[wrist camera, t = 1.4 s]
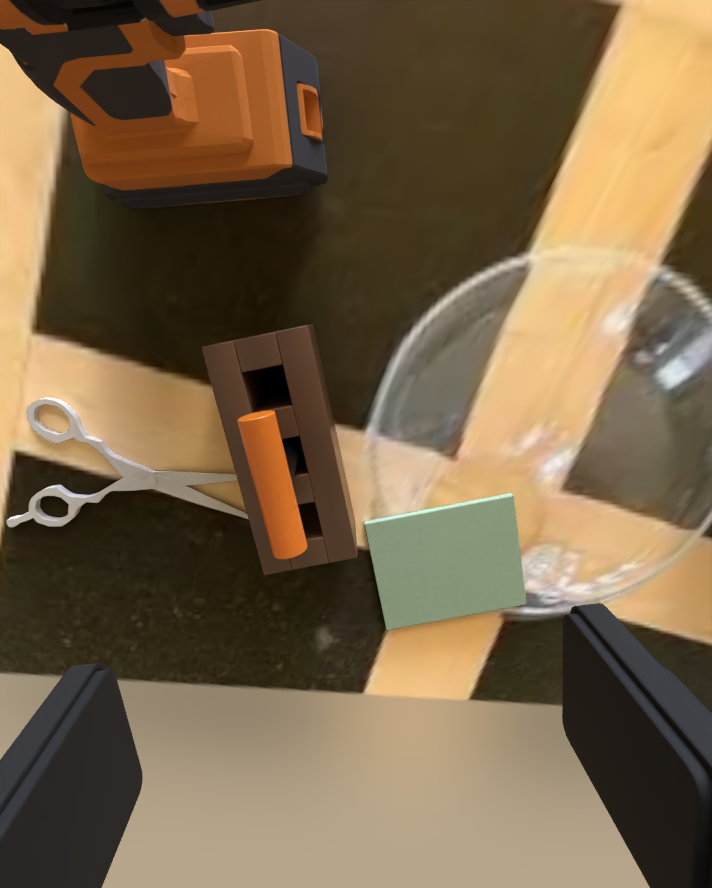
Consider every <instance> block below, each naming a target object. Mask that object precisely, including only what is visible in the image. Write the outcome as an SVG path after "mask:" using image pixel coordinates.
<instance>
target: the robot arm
mask: <svg viewBox="0 0 712 888" xmlns="http://www.w3.org/2000/svg"><path fill="white" fill-rule="evenodd" d="M562 718H563V725H564V730H565V733H566V736H567V738H568V740H569V742H570V744H571V746H572V748H573V749H574V751H575V753H576V755H577V756H578V758H579V760H580V762H581V764H582V766H583V767H584V769H585V771H586V773H587V775H588V776H589V778H590V780H591V782H592V784H593V785H594V787H595V789H596V791H597V792H598V794H599V796H600V798H601V800H602V802H603V803H604V805H605V807H606V809H607V811H608V813H609V814H610V816H611V818H612V820H613V822H614V823H615V825H616V827H617V829H618V831H619V832H620V834H621V836H622V838H623V840H624V841H625V843H626V845H627V847H628V849H629V850H630V852H631V854H632V856H633V858H634V859H635V861H636V863H637V865H638V867H639V868H640V870H641V872H642V874H643V876H644V878H645V879H646V881H647V883H648V885H649V887H650V888H712V714H711V713H710V712H709V711H708V709H707V708H706V707H705V706H704V705H703V704H702V703H701V702H700V701H699V700H698V699H697V698H696V697H695V696H694V695H693V694H692V693H691V692H690V691H689V689H688V688H687V687H686V686H685V685H684V684H683V683H682V682H681V681H680V680H679V679H678V678H677V677H676V676H675V675H674V674H673V673H672V672H671V671H670V670H668V669H667V668H664V667H662V666H661V665H660V664H659V663H658V662H657V661H656V660H655V659H654V658H653V657H652V655H651V654H650V653H649V652H648V651H647V650H646V649H645V648H644V647H643V646H642V645H641V644H640V643H639V642H638V641H637V639H636V638H635V637H634V636H633V635H632V634H631V633H630V632H629V631H628V630H627V629H626V628H625V627H624V626H623V624H622V623H621V622H620V621H619V620H618V619H617V618H616V617H615V616H614V615H613V614H612V613H611V612H610V611H609V610H608V608H607V607H606V606H604V605H603V604H600V603H598V604H589V605H581V606H574V607H572V609H571V613H570V614H568V615H565V616H564V619H563V715H562ZM141 786H142V770H141V766H140V762H139V758H138V755H137V751H136V747H135V744H134V740H133V737H132V733H131V729H130V726H129V722H128V719H127V715H126V711H125V708H124V704H123V700H122V697H121V693H120V689H119V686H118V682H117V678H116V675H115V672H114V671H113V670H112V669H107V667H106V666H105V665H104V664H103V663H93V664H85V665H77V666H72V667H70V668H69V669H68V670H67V671H66V673H65V674H64V675H63V677H62V678H61V679H60V681H59V682H58V683H57V685H56V686H55V687H54V689H53V690H52V691H51V693H50V694H49V695H48V697H47V698H46V699H45V701H44V702H43V704H42V705H41V706H40V707H39V709H38V710H37V711H36V713H35V714H34V716H33V717H32V718H31V720H30V721H29V722H28V724H27V725H26V726H25V728H24V729H23V730H22V732H21V733H20V735H19V736H18V737H17V738H16V740H15V741H14V743H13V744H12V745H11V747H10V748H9V749H8V750H7V752H6V753H5V754H4V756H3V757H2V758H1V760H0V888H101V887H102V885H103V883H104V880H105V878H106V875H107V873H108V870H109V868H110V865H111V863H112V860H113V858H114V856H115V853H116V851H117V848H118V846H119V843H120V841H121V838H122V836H123V833H124V831H125V828H126V826H127V823H128V821H129V818H130V816H131V813H132V811H133V809H134V806H135V804H136V801H137V798H138V796H139V793H140V790H141Z"/></svg>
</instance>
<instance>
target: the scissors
mask: <svg viewBox="0 0 712 888" xmlns="http://www.w3.org/2000/svg"><path fill="white" fill-rule="evenodd" d="M43 404H49V405H53V406H58V407H59V408H60V409H61V410H62V411H63V412H64V413H65V414H66V415H67V417H68V418H69V420H70V429H69V430H68V432H64V433H61V432H57V431H54V430H52V429H49V428H47V427H46V426H45V425H44V424H42V423H41V422H40V420H39V419H38V412H39V408H40V407H41V406H42V405H43ZM26 412H27V420H28V422H29V424H30V425H31V427H32V429H33V430H34V431H35V432H37V433H38V434H39V435H41V436H42V437H43V438H45V439H47V440H49V441H52V442H54V443H56V444H57V443H60V442H62V441H65V440H68V439H71V438H75V439H76V440H77V441H81V442H84V443H88V444H90V445H91V446H92V447H94V448H95V449H96V450H97V451H98V452H99V453H101V454H102V455H103V456H104V457H105V458H106V459H107V460H108V461H109V463H110V464H111V465H112V467H113V468H114V469H115V470H116V471H117V472H118V473H119V474H120V475H121V476H123V478H121V479H120V480H118V481H116V482H115V483H113V484H112V485H110V486H108V487H107V488H105V489H104V490H102V491H100V492H98V493H95V494H91V495H82V494H74V493H72V492H70V491H69V490H67V489H66V488H65V487H63V486H62V485H54V486H49V487H47V488H45V489H43V490H42V491H40V492H38V493H37V494H36V495H34V496H33V497H32V498H31V500H30V503H29V512H27V513H25V514H23V515H17V516H14V517H11V518H9V519H8V520H6V521H7V525H8V526H9V527H15V526H16V525H18V524H19V523H21V522H24V521H27V520H30V519H32V518H34V519H35V521H36V522H38V523H41V524H43V525H46V526H63V525H64V524H66V523H68V522H69V521H70V520H72V519H73V518H74V517H75V516H76V515H77V514H78V513H79V511H80V508H81V506H82V505H83V504H84V503H86V502H92V503H98V502H100V501H101V500H102V499H103V498H104V496H105V495H106V494H107V493H109V492H111V491H134V490H145V489H155V490H158V491H161V492H164V493H167V494H170V495H172V496H175V497H178V498H181V499H184V500H187V501H190V502H193V503H196V504H199V505H203V506H206V507H209V508H213V509H216V510H220V511H223V512H227V513H230V514H233V515H236V516H240V517H243V518H246V519H248V515H247V514H246V513H244V512H242V511H240V510H238V509H235V508H233V507H231V506H229V505H227V504H225V503H222V502H220V501H218V500H215V499H213V498H211V497H208V496H206V495H204V494H202V493H200V492H198V491H196V490H194V489H192V488H190V487H187V485H197V484H208V483H218V482H227V481H235V480H238V479H237V475H236V474H224V473H204V472H170V471H154V470H152V469H150V468H148V467H146V466H143V465H140V464H137V463H135V462H132V461H130V460H127V459H125V458H123V457H121V456H119V455H116V454H114V453H113V452H112V451H111V450H110V449H109V448H108V447H107V445H106V443H105V441H104V440H101V439H98V438H95V437H92V436H89V435H88V433H87V432H86V430H85V428H84V426H83V425H82V422H81V420H80V417H79V416H78V414H77V413H76V412H75V411H74V410H73V409H72V408H71V407H70V406H69V405H68V404H67V403H65V402H63V401H62V400H59V399H55V398H42V399H39V400H37V401H35V402H33V403H32V404H30V405H29V406H28V408H27V411H26ZM44 496H56V497H60V498H62V499H63V500H64V501H66V502H67V503H68V504H69V509H68V515H67V516H65V517H60V518H59V517H51V516H48V515H46V514H45V513H44V512H43V511H42V509H41V508H40V501H41V498H42V497H44Z"/></svg>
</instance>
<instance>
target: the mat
mask: <svg viewBox="0 0 712 888" xmlns="http://www.w3.org/2000/svg"><path fill="white" fill-rule="evenodd" d="M364 524H365V529H366V534H367V539H368V544H369V549H370V553H371V558H372V563H373V568H374V573H375V578H376V582H377V587H378V592H379V597H380V602H381V606H382V611H383V616H384V621H385V626H386V630H393V629H398V628H403V627H409V626H414V625H419V624H424V623H430V622H435V621H440V620H446V619H451V618H456V617H462V616H467V615H472V614H478V613H483V612H488V611H494V610H499V609H504V608H509V607H515V606H520V605H525V604H526V597H525V588H524V580H523V571H522V563H521V554H520V546H519V537H518V529H517V520H516V512H515V503H514V496H513V495H512V493H509V494H504V495H499V496H493V497H488V498H483V499H478V500H473V501H468V502H462V503H457V504H452V505H447V506H442V507H437V508H431V509H426V510H421V511H416V512H411V513H406V514H400V515H395V516H390V517H385V518H380V519H375V520H369V521H365V522H364Z"/></svg>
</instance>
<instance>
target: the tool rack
mask: <svg viewBox="0 0 712 888" xmlns="http://www.w3.org/2000/svg"><path fill="white" fill-rule="evenodd" d="M202 352H203V355H204V359H205V363H206V366H207V370H208V373H209V377H210V381H211V384H212V388H213V392H214V395H215V399H216V403H217V406H218V410H219V413H220V417H221V421H222V424H223V428H224V432H225V435H226V439H227V442H228V446H229V450H230V453H231V457H232V461H233V464H234V468H235V472H236V475H237V479H238V482H239V486H240V490H241V493H242V497H243V501H244V504H245V508H246V511H247V515H248V519H249V522H250V526H251V530H252V533H253V537H254V541H255V544H256V548H257V551H258V555H259V559H260V562H261V566H262V570H263V573H264V575H268V574H273V573H278V572H284V571H289V570H292V569H293V570H294V569H299V568H305V567H310V566H315V565H320V564H325V563H331V562H337V561H342V560H347V559H352V558H357V557H358V556H357V541H356V526H355V518H354V514H353V509H352V504H351V499H350V495H349V490H348V485H347V481H346V476H345V471H344V467H343V462H342V457H341V452H340V448H339V443H338V438H337V434H336V429H335V424H334V420H333V415H332V410H331V405H330V401H329V396H328V391H327V387H326V382H325V377H324V373H323V368H322V363H321V358H320V354H319V349H318V344H317V340H316V335H315V330H314V326H313V324H307V325H302V326H297V327H293V328H288V329H283V330H278V331H273V332H268V333H263V334H258V335H253V336H248V337H243V338H238V339H233V340H228V341H224V342H220V343H216V344H211V345H207V346H203V347H202ZM282 364H283V367H284V371H285V376H286V380H287V384H288V389H289V393H288V394H283V395H278V396H273V397H268V398H266V397H265V393H264V388H263V384H262V380H261V376H260V372H259V369H264V368H269V367H274V366H278V365H282ZM267 410H272V411H275V414H276V418H277V422H278V426H279V430H280V434H281V439H286V438H291V437H296V436H300V440H301V444H302V448H303V452H301V453H300V457H299V460H298V464H297V467H296V471H295V474H294V477H293V481H292V484H293V488H294V492H295V496H296V500H297V504H298V505H300V504H305V503H310V502H314V501H315V504H316V506H314V507H309V508H303V509H299V512H300V516H301V520H302V524H303V529H304V533H305V537H306V541H307V545H308V546H307V549H306V550H305V551H304V552H303V553H302V554H300V555H298V556H296V557H293V558H289V559H277V558H275V557H274V556H273V553H272V549H271V545H270V542H269V538H268V534H267V530H266V527H265V523H264V519H263V515H262V512H261V508H260V504H259V500H258V497H257V493H256V489H255V485H254V482H253V478H252V474H251V470H250V466H249V463H248V459H247V455H246V451H245V448H244V444H243V440H242V436H241V433H240V429H239V425H238V419H239V418H240V417H242V416H245V415H248V414H251V413H255V412H260V411H267Z"/></svg>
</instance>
